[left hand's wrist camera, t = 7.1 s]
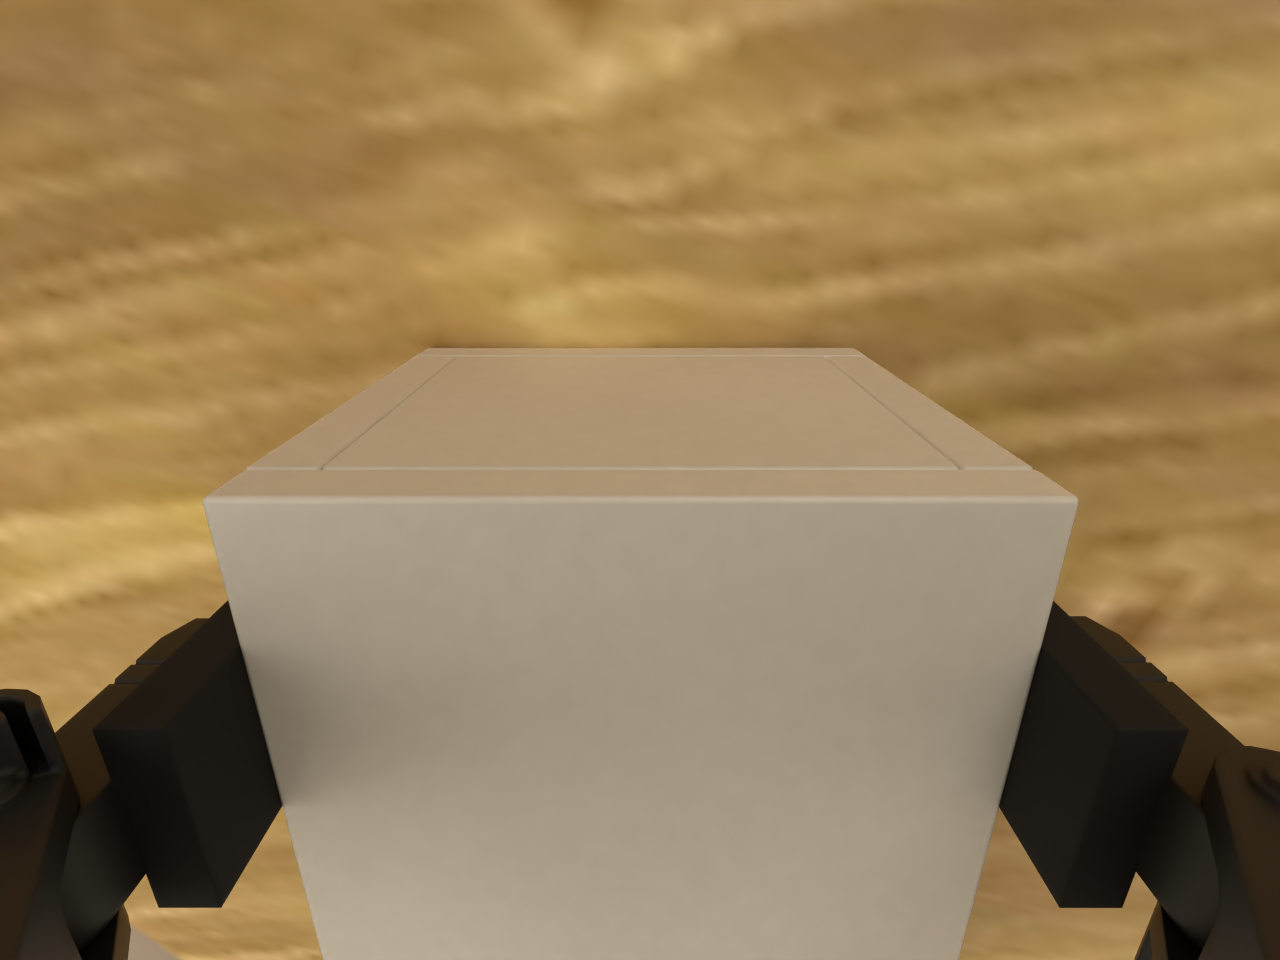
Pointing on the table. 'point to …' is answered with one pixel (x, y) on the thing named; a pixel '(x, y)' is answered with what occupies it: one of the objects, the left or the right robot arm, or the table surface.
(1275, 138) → the table surface
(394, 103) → the table surface
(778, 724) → the cabinet
